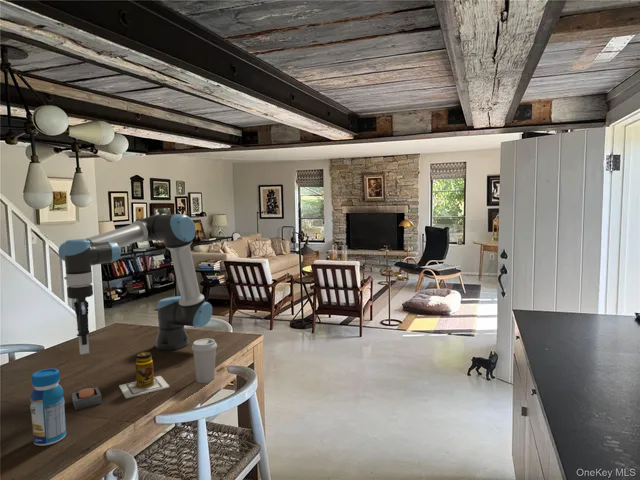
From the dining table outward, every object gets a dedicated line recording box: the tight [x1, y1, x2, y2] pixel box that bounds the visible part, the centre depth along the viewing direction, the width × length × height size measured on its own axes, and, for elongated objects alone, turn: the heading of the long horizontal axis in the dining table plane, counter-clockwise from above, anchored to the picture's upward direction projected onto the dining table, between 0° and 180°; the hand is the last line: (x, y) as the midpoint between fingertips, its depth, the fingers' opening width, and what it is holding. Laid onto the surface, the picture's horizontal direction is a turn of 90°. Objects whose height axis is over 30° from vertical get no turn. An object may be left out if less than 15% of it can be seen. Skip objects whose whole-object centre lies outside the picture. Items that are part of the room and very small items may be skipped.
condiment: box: [128, 351, 159, 390], centre depth 161 cm, size 7×8×12 cm
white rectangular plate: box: [118, 375, 170, 399], centre depth 161 cm, size 15×12×1 cm
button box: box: [71, 386, 103, 411], centre depth 149 cm, size 8×8×3 cm
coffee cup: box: [191, 338, 218, 384], centre depth 167 cm, size 10×10×15 cm
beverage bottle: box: [29, 367, 67, 447], centre depth 125 cm, size 8×8×20 cm
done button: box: [79, 387, 94, 399], centre depth 149 cm, size 5×5×3 cm
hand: (84, 353), depth 148 cm, fingers closed
